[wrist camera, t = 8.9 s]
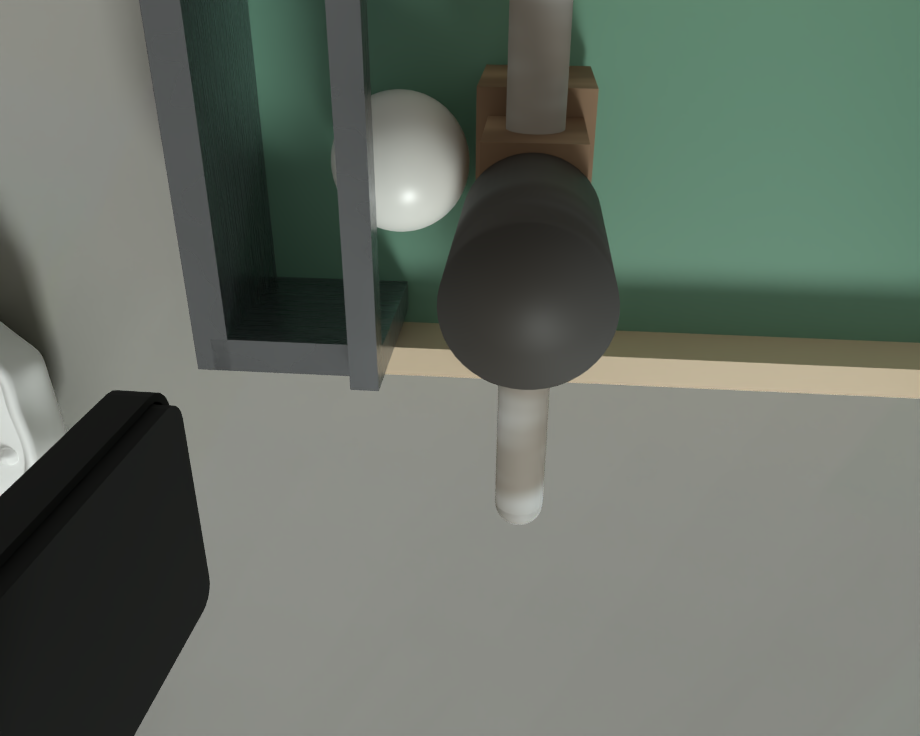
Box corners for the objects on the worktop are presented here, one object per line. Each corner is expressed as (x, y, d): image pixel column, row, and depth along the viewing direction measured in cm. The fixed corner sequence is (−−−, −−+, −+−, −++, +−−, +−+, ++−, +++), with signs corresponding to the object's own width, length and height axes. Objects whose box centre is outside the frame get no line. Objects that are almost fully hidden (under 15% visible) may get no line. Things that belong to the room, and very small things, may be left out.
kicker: (616, -241, 21) (694, -429, 10) (567, 427, 30) (580, 704, 19) (487, -240, 21) (429, -421, 10) (477, 423, 30) (440, 693, 19)
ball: (400, 74, 26) (500, 89, 23) (404, 201, 27) (496, 227, 25) (296, 89, 23) (395, 108, 21) (308, 229, 25) (400, 260, 22)
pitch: (1330, -112, 22) (1447, -119, 19) (1128, 363, 28) (1194, 411, 25) (215, -112, 24) (172, -118, 21) (266, 327, 31) (237, 367, 28)
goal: (398, -52, 23) (357, -49, 18) (408, 308, 28) (378, 391, 23) (208, -53, 24) (115, -50, 19) (251, 302, 29) (188, 382, 24)
